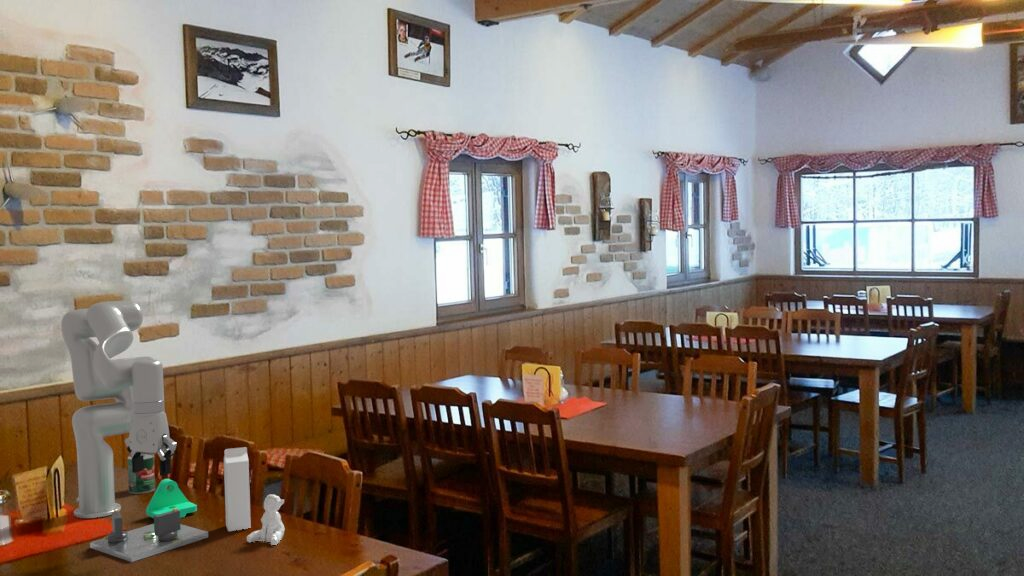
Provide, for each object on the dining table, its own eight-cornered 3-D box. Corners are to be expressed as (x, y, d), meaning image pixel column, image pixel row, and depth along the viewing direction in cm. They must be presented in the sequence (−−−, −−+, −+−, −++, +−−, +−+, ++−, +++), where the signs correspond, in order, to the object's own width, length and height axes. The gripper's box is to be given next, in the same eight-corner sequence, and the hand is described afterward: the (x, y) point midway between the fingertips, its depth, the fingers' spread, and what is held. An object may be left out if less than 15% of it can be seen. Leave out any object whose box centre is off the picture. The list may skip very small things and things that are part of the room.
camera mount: (157, 524, 251) (155, 487, 251) (146, 518, 257) (144, 483, 256) (198, 514, 259) (196, 479, 259) (186, 509, 265) (185, 474, 264)
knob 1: (109, 544, 228) (107, 517, 228) (106, 537, 234) (105, 511, 234) (129, 541, 231) (128, 514, 231) (126, 534, 236) (125, 508, 236)
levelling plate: (90, 547, 231) (89, 538, 231) (166, 525, 249) (166, 516, 249) (131, 562, 220) (131, 552, 220) (208, 537, 238) (207, 528, 238)
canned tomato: (149, 493, 282) (147, 459, 281) (124, 494, 282) (122, 459, 281) (159, 486, 290) (158, 453, 289) (135, 487, 290) (133, 453, 289)
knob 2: (151, 539, 232) (150, 512, 232) (173, 532, 237) (172, 506, 237) (162, 543, 229) (161, 515, 229) (184, 536, 234) (183, 509, 234)
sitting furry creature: (245, 543, 233) (243, 497, 232) (265, 532, 241) (264, 489, 240) (275, 546, 230) (273, 500, 229) (295, 536, 238) (293, 492, 237)
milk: (250, 528, 245) (248, 449, 244) (227, 532, 242) (225, 451, 241) (248, 522, 250) (245, 444, 249) (225, 525, 248) (223, 447, 247)
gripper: (113, 408, 231) (116, 473, 232) (162, 411, 224) (165, 479, 225) (136, 403, 238) (139, 467, 239) (184, 406, 231) (187, 472, 231)
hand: (151, 473), depth 232 cm, fingers open, 9 cm apart
